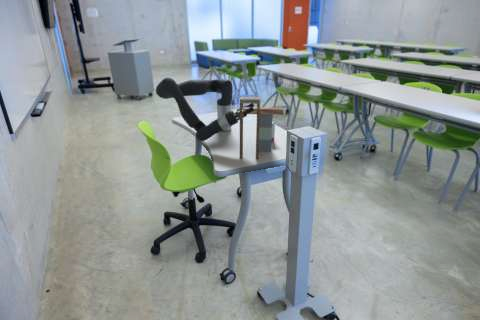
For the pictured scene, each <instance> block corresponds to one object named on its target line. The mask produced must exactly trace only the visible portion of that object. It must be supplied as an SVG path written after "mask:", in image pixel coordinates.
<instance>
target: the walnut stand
mask: <svg viewBox="0 0 480 320" xmlns="http://www.w3.org/2000/svg"><path fill="white" fill-rule="evenodd" d="M251 103H252V104H254V105H255V104H256V107H257V114H256V130H255V133H256V137H255V139H256V140H255V160H259V152H260V151H259V121H260V108H261V96H240V97H239V109H240V120H239V159H240V160H241V159H243V154H244V151H243V150H244V147H243V146H244V135H243V134H244V118H243V106H244V104H251Z"/></svg>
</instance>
